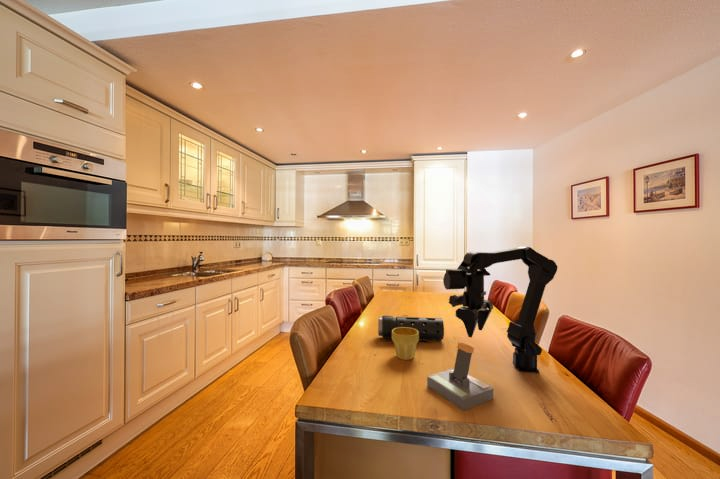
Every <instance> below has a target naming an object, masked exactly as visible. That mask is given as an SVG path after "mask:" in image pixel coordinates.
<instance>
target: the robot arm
mask: <svg viewBox="0 0 720 479" xmlns="http://www.w3.org/2000/svg"><path fill="white" fill-rule="evenodd" d="M517 260H521V261H522V263H523V264H525V265H526V266H527V267H528V268H527V274H528V279H529V283H528V285H527V289H526V291H525V295H524V299H523V302H522V306H521V308H520V311H519V315H518V318H517V319H516V320H515V321H514V322H513V321H510V322H509V324H508V327H507V329H506V333H507V335H506V336H507V338H508V341H509V342H510V343H511V346H512V347H514V352H513V353H512V364H513V365H514V367H515V368H517V370H518V371H519V372H527V373H528V372H529V373H540V369H538V356H541V354H542V352H543V348H541V346H540V345H539V344H538V343H537V342H536V335H537V334H536V330H535V322H536V318H537V316H538V312H539V309H540V305H541V303H542V302H541V301H542V300H543V295H544V292H545V289H546V287H547V285H548V284H549V283H550V282H551V281H552V280H554V278H555V276H556V273H557V271H558V265H557V264H556V262H555V260H553V259H549V258H548V257H546V256H545V255H543V254H542V253H540V252H538V251H536V250H534V249H533V248H532V247H530V246H519V247H514V248H508V249H501V250H495V251H490V252H488V251H486V252H485V251H468V252H466V253H465V255H464V256H463V260H462V262H461V263H460V264H459V266H458V267H457V268H456V269H451V268H450V269H449V268H447V269H445V273H444V275H443V279H442V280H443V286H444V288H445V290H464V289H466V290H464V291H463V293H462V294H461V295H456V294H453V295H449V299H448V304H450V305H451V307H452V308H455V307H458V306H461V307H459V308H456V309H455V317H456V318H457V319H458V320H460V321H462V322H463V325H464V327H465V330H466V333H467V337H468V338H473V335H474V333H475V330H476V327H477V329H478V330H479V331H483V329H484V327H485V325H486V322H487V320H488V319H489V316H490V314H491V313H492V310H494V303H493V302H492V301H491V300H487V299H485V295H486V296H487V291H485V277H486V276H491V273H490V272H489V271H487V269H486V268H489V267H491V266H493V265H495V264H499V263H506V262H512V261H517Z"/></svg>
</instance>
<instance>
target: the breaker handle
mask: <svg viewBox="0 0 720 479" xmlns="http://www.w3.org/2000/svg"><path fill="white" fill-rule="evenodd" d="M456 349H457V352H456V357H455V361H454V362H455V363H454V367H453V368H454V372H453V378H454V379H456V380H458V381H460V382H461V383H463V379H465V378H467V377H468V375H469V371H470V365H471V359H472V355H473V354H474V351H475V347H473V346H471V345H468V344H466V343H463V342H457V346H456Z"/></svg>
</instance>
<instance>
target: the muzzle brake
mask: <svg viewBox="0 0 720 479" xmlns="http://www.w3.org/2000/svg"><path fill="white" fill-rule="evenodd" d="M377 322H378V325H377V327H378V328H377V329H378V331H377V334H378V336H379V337H382V338H383V339H386V338H387V339H392V330H393V329H394V328H398V327H409V328H414V329H416V330H418V332H419V341H428V342H429V341H430V342H431V341H432V342H433V341H434V342H442V341H443V339H444V337H445V326H444V319H443V318H442V317H439V318H438V317H414V316H413V317H411V316H396V317H394V316H393V315H382V316H378V320H377Z"/></svg>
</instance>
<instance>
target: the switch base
mask: <svg viewBox="0 0 720 479" xmlns="http://www.w3.org/2000/svg"><path fill="white" fill-rule="evenodd" d="M453 372H454V367H452V368H449V369H447V370H443V371H441V372H436V373H434V374H431V375H427V378H426V381H427V383H426V384H427V387H428V388H429V389H430V390H432V391H434V392H435V393H437V394H438V395H440V396H441V397H443V398H444V399H445V400H446V401H448V402H450V403H451V404H453V405H455V406H456V407H457V408H459V409H460V410H462V411H463V412H465V411H467V410H470V409H472V408H474V407H476V406H479V405H482V404H484V403H487V402H488V401H491V400H493V399H494V388H493V387H492V386H491V385H488V384H486V383H484V382H482V381H480V380H479V379H477V378H475V377H473V376H472V375H469V374H468V377H467V378H465V379H463V383H461V382H460V381H458V380H456V379H454V378H453Z"/></svg>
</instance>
